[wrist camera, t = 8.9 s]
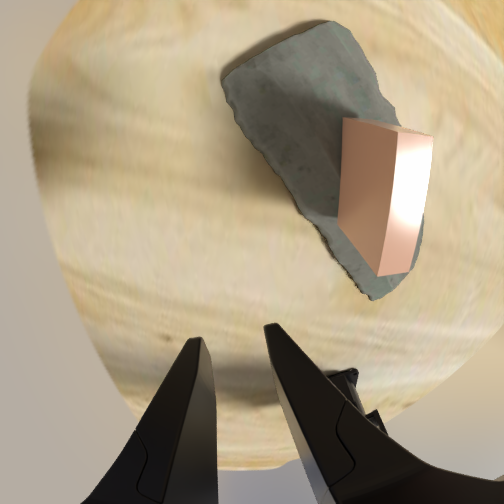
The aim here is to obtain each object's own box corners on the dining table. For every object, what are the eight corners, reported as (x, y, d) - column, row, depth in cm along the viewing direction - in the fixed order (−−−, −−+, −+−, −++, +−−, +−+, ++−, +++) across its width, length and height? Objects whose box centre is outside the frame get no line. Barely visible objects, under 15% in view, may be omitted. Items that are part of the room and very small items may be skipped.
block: (372, 119, 15) (433, 136, 10) (363, 222, 19) (408, 272, 13) (342, 117, 15) (397, 132, 10) (337, 224, 18) (377, 276, 13)
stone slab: (324, 19, 14) (204, 90, 15) (344, 8, 12) (208, 85, 13) (431, 239, 25) (359, 303, 26) (449, 251, 22) (373, 320, 24)
